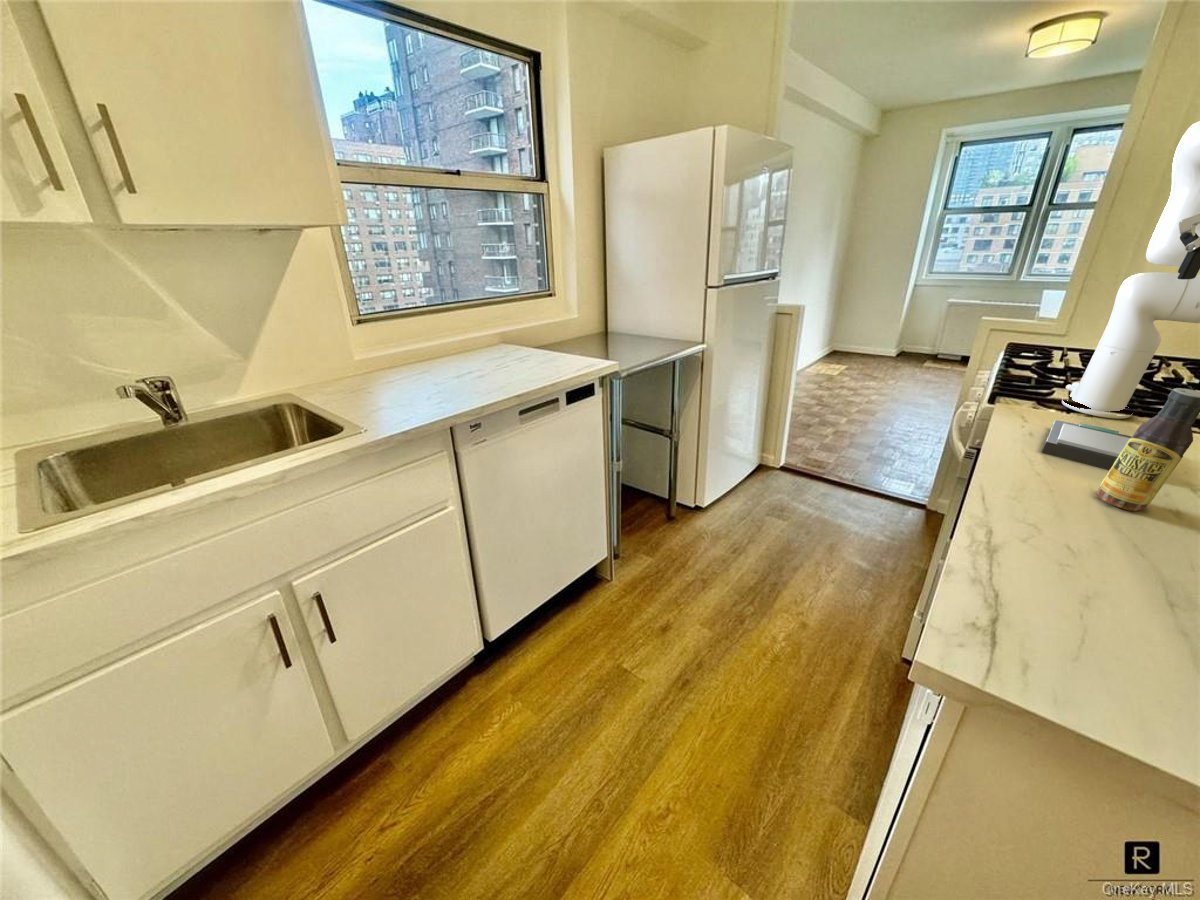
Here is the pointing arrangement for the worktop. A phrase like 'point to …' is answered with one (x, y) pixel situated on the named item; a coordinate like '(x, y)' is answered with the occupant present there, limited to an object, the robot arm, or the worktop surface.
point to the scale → (1085, 443)
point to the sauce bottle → (1152, 453)
